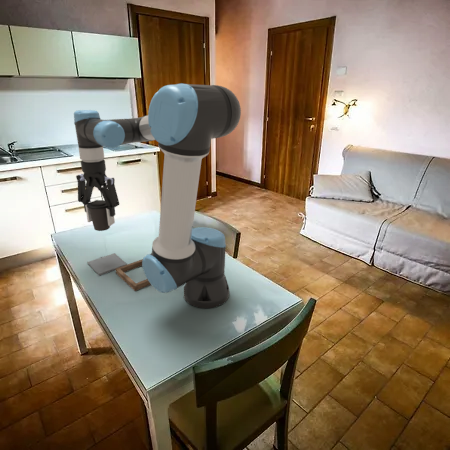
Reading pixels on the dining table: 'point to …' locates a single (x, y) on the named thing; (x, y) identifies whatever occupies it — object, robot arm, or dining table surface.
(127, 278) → the wooden square frame
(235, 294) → the dining table surface
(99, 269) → the pad
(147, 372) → the dining table surface
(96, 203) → the coffee cup
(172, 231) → the robot arm
